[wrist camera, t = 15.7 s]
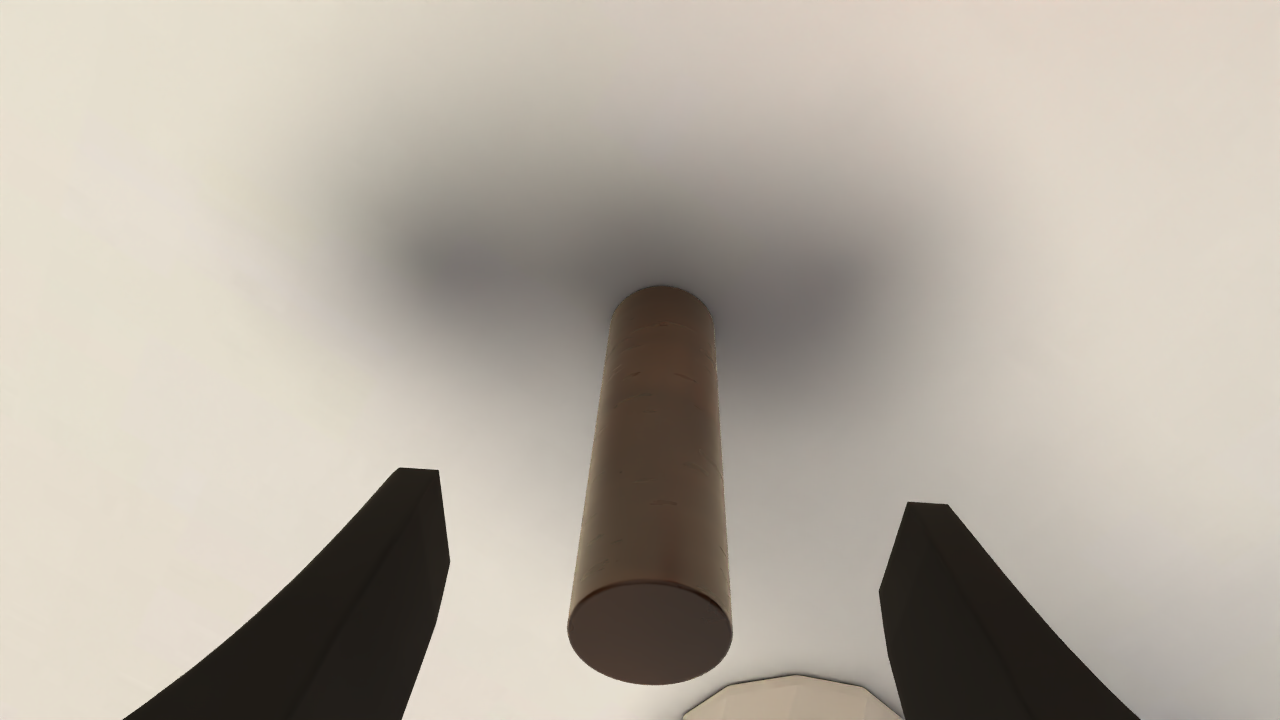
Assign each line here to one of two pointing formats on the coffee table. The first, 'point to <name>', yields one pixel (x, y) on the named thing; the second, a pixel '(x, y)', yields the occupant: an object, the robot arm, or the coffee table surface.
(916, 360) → the coffee table surface
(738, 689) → the vase
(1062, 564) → the coffee table surface
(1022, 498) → the coffee table surface
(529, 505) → the coffee table surface
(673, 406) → the brown cylinder
